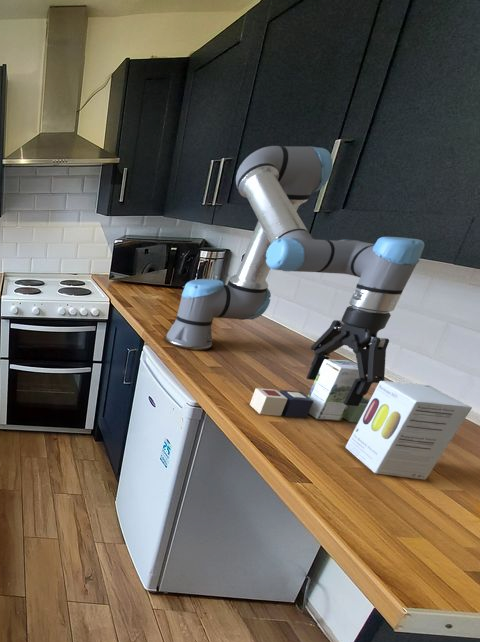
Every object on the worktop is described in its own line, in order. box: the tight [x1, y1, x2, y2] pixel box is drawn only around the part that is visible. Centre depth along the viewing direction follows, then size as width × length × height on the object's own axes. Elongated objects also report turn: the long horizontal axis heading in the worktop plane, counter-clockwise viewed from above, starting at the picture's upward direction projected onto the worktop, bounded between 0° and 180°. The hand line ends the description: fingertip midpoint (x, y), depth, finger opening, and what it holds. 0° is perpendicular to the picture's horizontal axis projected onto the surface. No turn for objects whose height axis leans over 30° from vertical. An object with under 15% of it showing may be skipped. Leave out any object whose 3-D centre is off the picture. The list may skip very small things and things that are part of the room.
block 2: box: [279, 389, 313, 419], centre depth 102 cm, size 5×5×5 cm
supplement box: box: [345, 380, 473, 480], centre depth 81 cm, size 10×9×17 cm
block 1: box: [249, 387, 287, 417], centre depth 102 cm, size 5×5×5 cm
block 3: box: [342, 396, 370, 424], centre depth 100 cm, size 5×5×5 cm
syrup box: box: [307, 358, 359, 422], centre depth 99 cm, size 6×6×14 cm
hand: (330, 391), depth 100 cm, fingers open, 13 cm apart
